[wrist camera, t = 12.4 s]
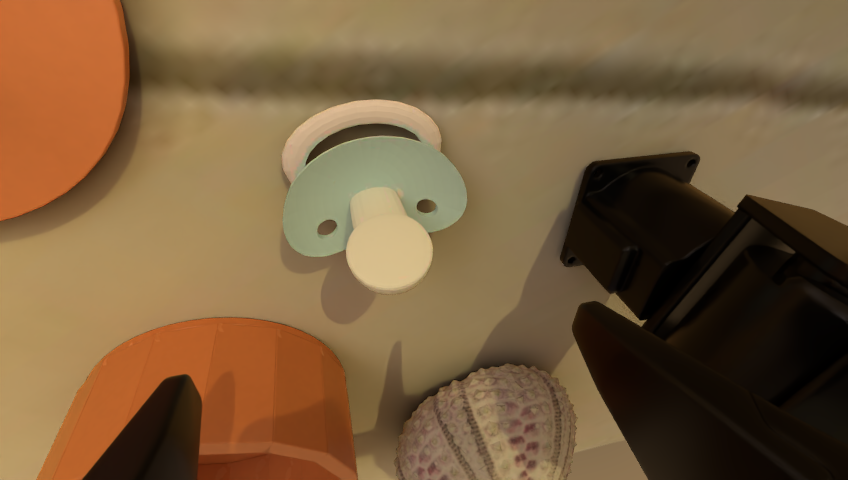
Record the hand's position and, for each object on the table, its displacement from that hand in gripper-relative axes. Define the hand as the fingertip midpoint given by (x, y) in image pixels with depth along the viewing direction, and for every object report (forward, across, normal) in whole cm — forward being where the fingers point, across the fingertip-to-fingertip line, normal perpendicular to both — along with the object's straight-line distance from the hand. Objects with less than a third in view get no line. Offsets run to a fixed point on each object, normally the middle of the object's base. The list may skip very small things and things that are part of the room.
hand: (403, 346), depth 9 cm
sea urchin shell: (+10, -8, +21) cm, 25 cm away
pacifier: (+10, 0, 0) cm, 10 cm away
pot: (+10, +8, +14) cm, 19 cm away
